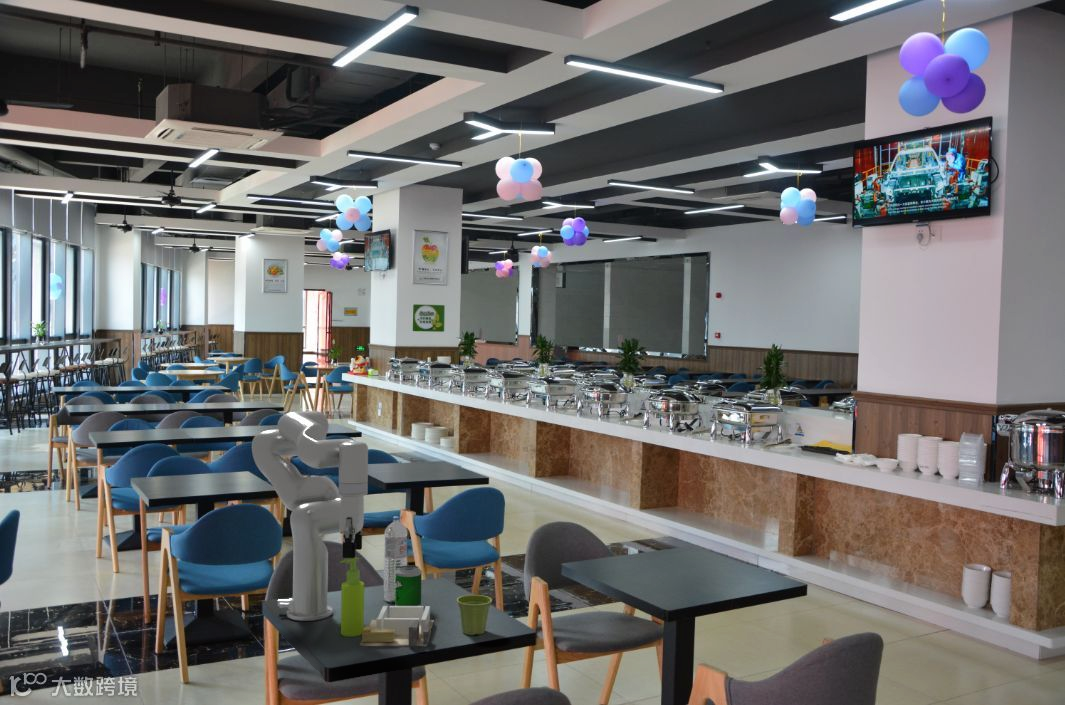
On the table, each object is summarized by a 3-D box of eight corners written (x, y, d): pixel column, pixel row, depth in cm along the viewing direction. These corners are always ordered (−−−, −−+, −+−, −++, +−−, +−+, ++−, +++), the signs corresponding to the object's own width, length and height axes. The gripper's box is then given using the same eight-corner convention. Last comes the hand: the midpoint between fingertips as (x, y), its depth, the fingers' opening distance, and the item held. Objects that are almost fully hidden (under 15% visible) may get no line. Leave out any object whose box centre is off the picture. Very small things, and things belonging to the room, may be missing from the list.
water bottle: (399, 595, 260) (400, 513, 260) (410, 600, 254) (411, 517, 255) (379, 599, 255) (380, 516, 255) (390, 604, 250) (392, 520, 250)
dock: (376, 634, 222) (376, 619, 222) (383, 620, 234) (383, 605, 234) (425, 634, 222) (425, 619, 222) (429, 620, 234) (430, 606, 234)
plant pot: (468, 624, 233) (468, 592, 233) (497, 629, 229) (498, 597, 229) (449, 633, 225) (450, 601, 225) (479, 639, 220) (480, 606, 220)
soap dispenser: (333, 634, 222) (334, 558, 223) (352, 628, 228) (353, 553, 228) (349, 639, 219) (350, 562, 219) (368, 632, 225) (369, 557, 225)
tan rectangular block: (362, 641, 215) (362, 628, 215) (363, 638, 218) (363, 625, 218) (393, 641, 215) (393, 628, 215) (394, 638, 218) (395, 625, 218)
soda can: (423, 605, 249) (424, 565, 249) (417, 613, 242) (418, 571, 242) (398, 604, 250) (399, 564, 250) (392, 612, 243) (392, 570, 243)
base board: (358, 647, 213) (359, 627, 213) (372, 621, 234) (372, 602, 234) (427, 647, 214) (427, 627, 214) (434, 621, 235) (435, 603, 235)
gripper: (345, 483, 232) (344, 546, 232) (332, 493, 215) (331, 561, 215) (372, 484, 233) (372, 546, 232) (361, 494, 215) (361, 561, 215)
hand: (352, 553), depth 224 cm, fingers open, 9 cm apart
